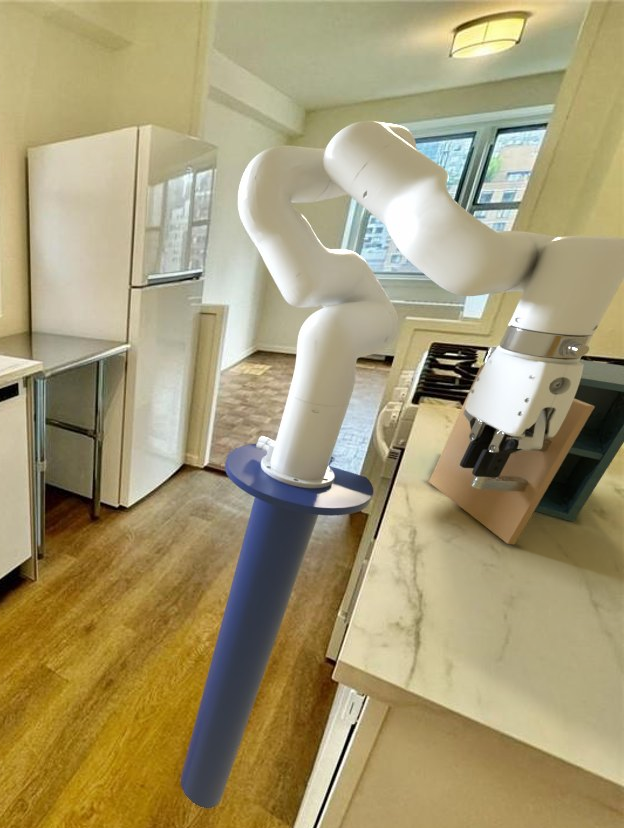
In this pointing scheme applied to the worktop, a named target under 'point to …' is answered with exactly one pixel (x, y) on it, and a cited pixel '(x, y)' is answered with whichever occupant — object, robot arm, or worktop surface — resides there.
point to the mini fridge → (588, 441)
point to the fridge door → (505, 475)
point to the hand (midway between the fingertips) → (478, 470)
